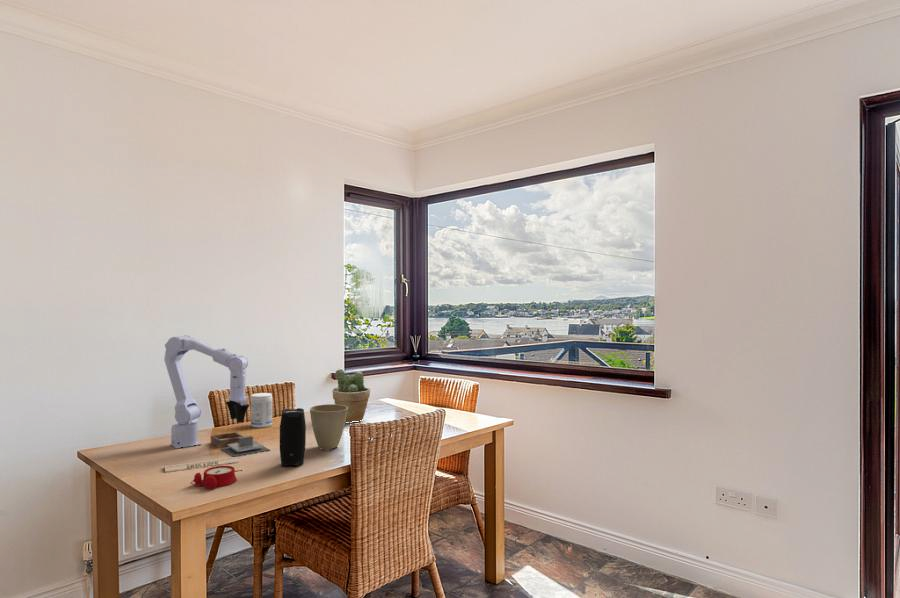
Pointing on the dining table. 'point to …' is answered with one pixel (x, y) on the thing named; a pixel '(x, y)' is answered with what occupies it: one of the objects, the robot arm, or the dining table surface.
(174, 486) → the dining table surface
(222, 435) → the walnut box
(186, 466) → the newspaper
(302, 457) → the portable speaker
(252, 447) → the lid
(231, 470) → the alarm clock
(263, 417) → the supplement tub
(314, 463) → the dining table surface
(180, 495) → the dining table surface
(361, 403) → the potted plant
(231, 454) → the dark gray board
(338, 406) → the plant pot
